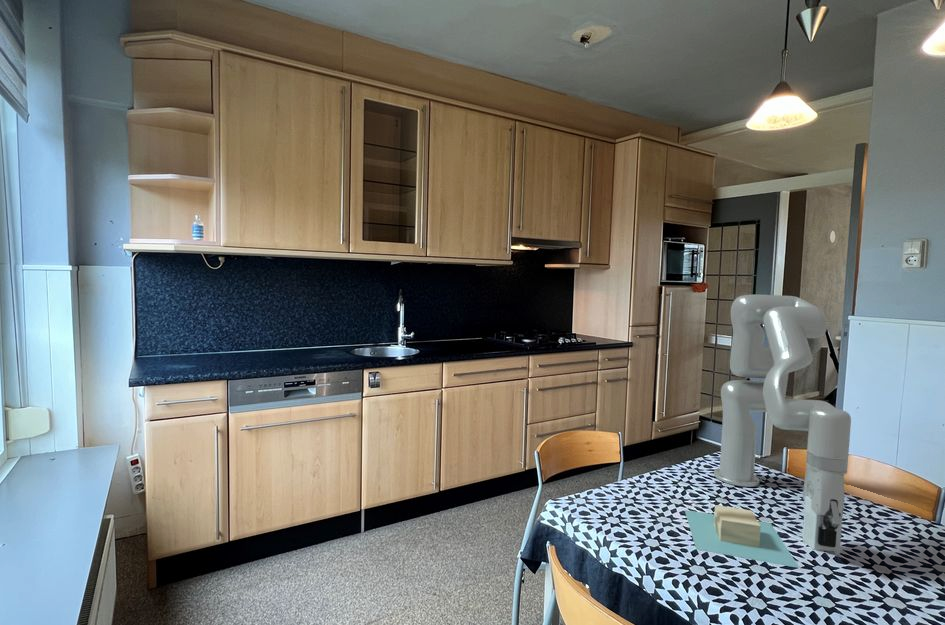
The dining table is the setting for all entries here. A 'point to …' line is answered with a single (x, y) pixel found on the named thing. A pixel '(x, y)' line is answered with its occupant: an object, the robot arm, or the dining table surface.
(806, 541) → the skincare box
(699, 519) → the base board
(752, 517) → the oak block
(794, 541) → the dining table surface
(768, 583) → the dining table surface
